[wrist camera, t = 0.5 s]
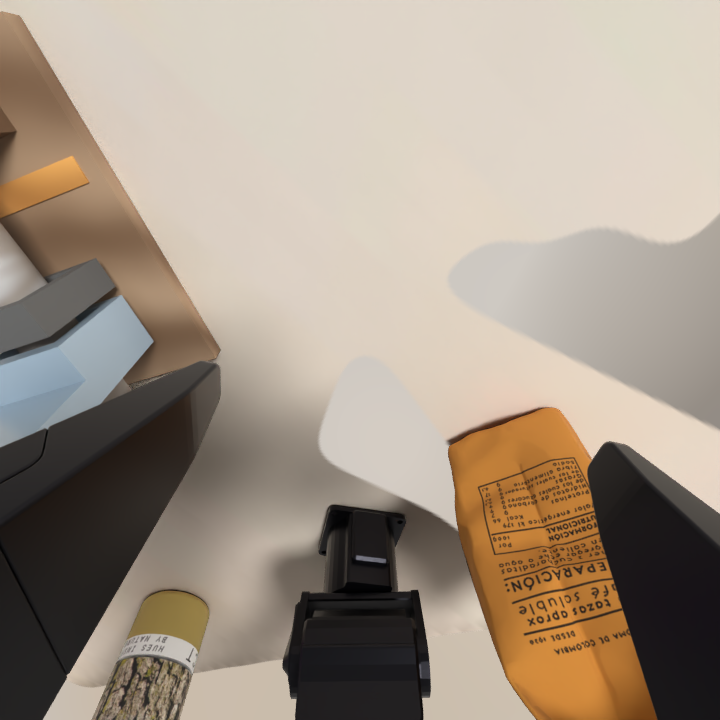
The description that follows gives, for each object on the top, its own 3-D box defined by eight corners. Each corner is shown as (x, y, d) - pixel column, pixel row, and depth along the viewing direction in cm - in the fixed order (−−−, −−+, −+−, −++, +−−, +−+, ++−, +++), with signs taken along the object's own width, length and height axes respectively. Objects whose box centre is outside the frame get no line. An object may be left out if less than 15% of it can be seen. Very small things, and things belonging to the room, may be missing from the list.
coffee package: (468, 529, 35) (586, 1000, 17) (430, 429, 29) (551, 1003, 11) (587, 503, 34) (867, 1001, 15) (574, 390, 27) (1025, 1006, 9)
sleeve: (153, 341, 23) (15, 503, 14) (74, 366, 24) (-105, 533, 15) (121, 294, 22) (-59, 441, 12) (38, 323, 22) (-188, 479, 13)
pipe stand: (220, 349, 26) (185, 412, 20) (87, 389, 27) (24, 456, 22) (19, 15, 17) (-128, -21, 12) (-158, 104, 19) (-355, 107, 13)
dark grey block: (115, 286, 21) (49, 337, 17) (31, 315, 22) (-53, 370, 18) (95, 258, 21) (20, 303, 16) (9, 289, 21) (-85, 340, 17)
